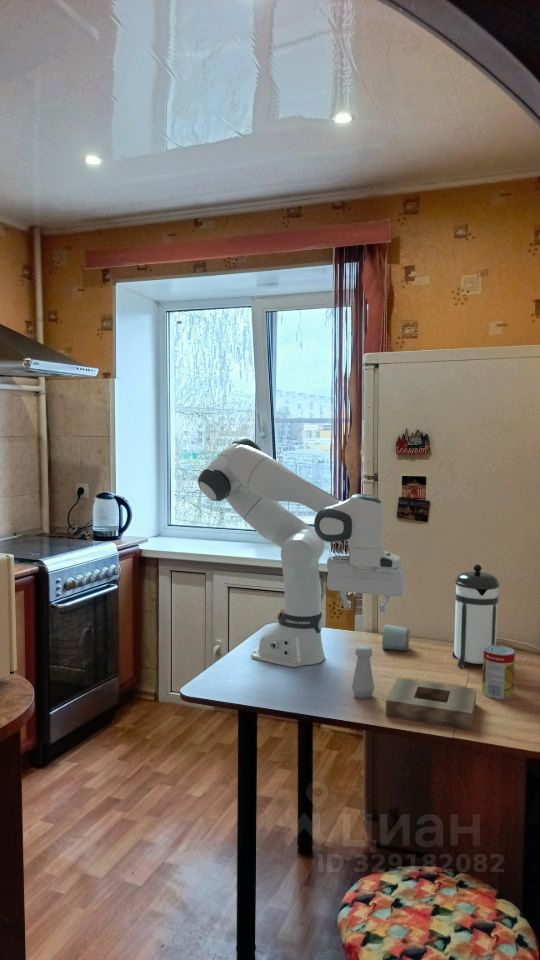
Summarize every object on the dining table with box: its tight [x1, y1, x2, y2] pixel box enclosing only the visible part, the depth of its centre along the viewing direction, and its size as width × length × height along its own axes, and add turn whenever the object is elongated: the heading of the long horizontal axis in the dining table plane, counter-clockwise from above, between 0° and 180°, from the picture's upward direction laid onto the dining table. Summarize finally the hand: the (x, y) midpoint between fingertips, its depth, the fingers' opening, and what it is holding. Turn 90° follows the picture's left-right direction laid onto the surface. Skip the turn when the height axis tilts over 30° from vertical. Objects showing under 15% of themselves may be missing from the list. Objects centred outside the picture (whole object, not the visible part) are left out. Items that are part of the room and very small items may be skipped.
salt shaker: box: [351, 645, 375, 700], centre depth 174 cm, size 6×6×13 cm
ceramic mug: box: [381, 623, 411, 652], centre depth 214 cm, size 11×8×8 cm
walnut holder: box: [385, 677, 477, 731], centre depth 166 cm, size 20×16×4 cm
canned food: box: [481, 644, 516, 700], centre depth 177 cm, size 8×8×12 cm
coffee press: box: [452, 564, 501, 669], centre depth 201 cm, size 17×16×30 cm
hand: (365, 609), depth 173 cm, fingers open, 8 cm apart
